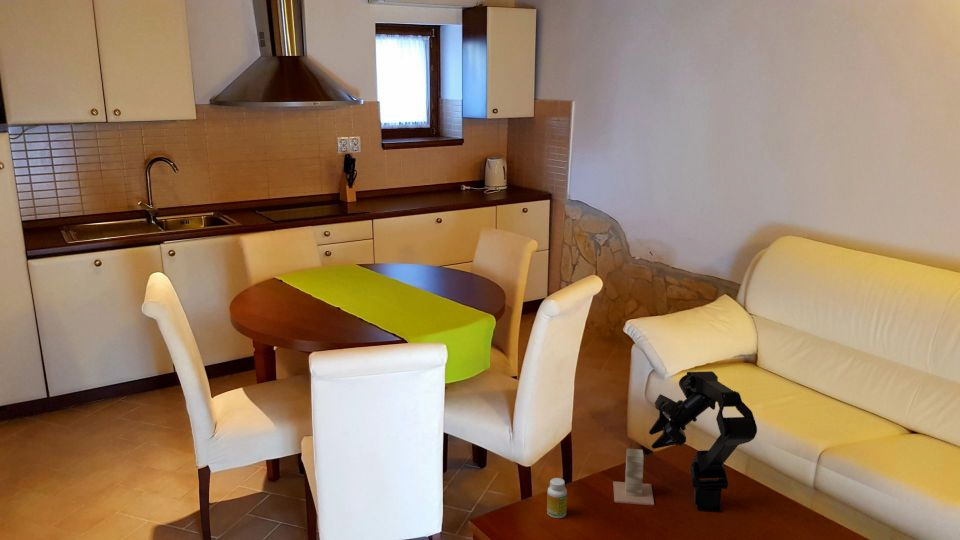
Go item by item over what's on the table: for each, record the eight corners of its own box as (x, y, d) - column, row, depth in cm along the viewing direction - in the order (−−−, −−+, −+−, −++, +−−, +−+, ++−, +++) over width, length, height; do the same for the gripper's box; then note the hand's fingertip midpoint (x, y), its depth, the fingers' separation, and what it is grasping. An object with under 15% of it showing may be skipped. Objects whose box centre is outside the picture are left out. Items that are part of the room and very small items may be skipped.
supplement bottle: (560, 521, 196) (560, 488, 194) (543, 514, 199) (543, 482, 197) (570, 512, 200) (570, 480, 198) (553, 506, 204) (554, 474, 202)
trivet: (650, 485, 214) (650, 484, 214) (653, 505, 204) (654, 503, 204) (613, 482, 216) (613, 481, 216) (614, 502, 205) (614, 500, 205)
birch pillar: (640, 488, 212) (642, 449, 209) (641, 496, 207) (643, 456, 204) (624, 487, 212) (626, 448, 210) (625, 495, 208) (627, 455, 205)
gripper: (669, 376, 218) (630, 408, 222) (676, 400, 200) (634, 435, 204) (694, 402, 219) (655, 433, 223) (703, 428, 201) (661, 462, 205)
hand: (651, 440), depth 213 cm, fingers open, 9 cm apart
